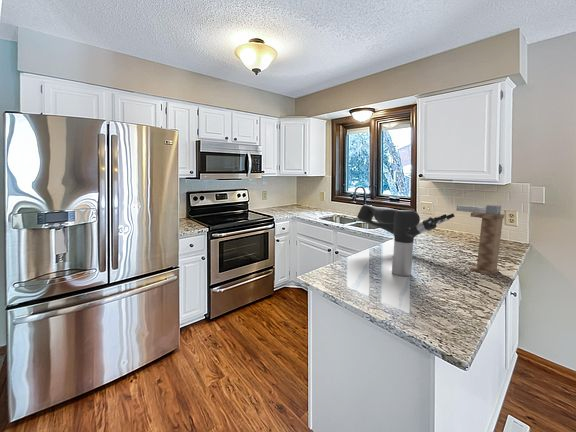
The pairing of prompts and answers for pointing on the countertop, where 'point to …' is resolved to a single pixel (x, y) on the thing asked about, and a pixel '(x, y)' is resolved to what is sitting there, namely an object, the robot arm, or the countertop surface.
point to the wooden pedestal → (488, 243)
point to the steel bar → (481, 209)
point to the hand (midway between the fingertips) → (450, 215)
